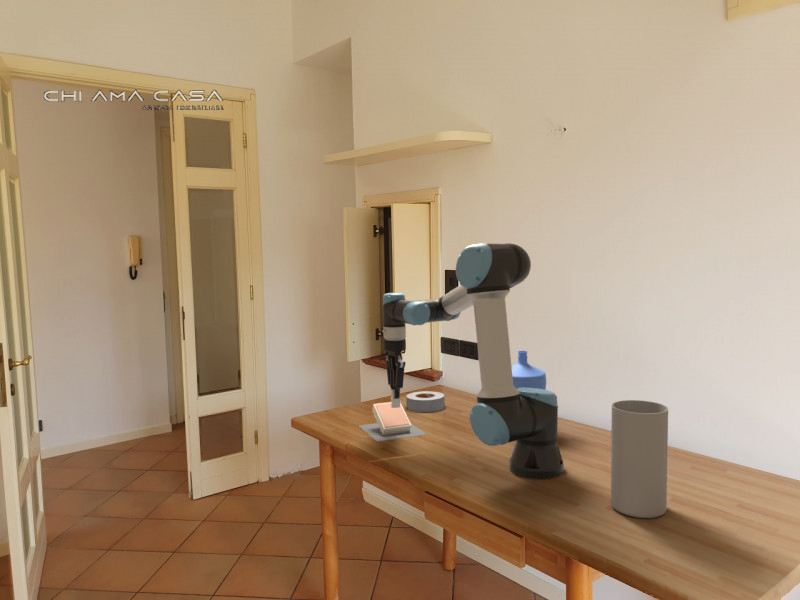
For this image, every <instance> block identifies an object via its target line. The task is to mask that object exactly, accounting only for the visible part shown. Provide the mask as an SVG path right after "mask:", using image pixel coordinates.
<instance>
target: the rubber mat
mask: <svg viewBox="0 0 800 600" xmlns="http://www.w3.org/2000/svg"><path fill="white" fill-rule="evenodd" d="M358 427H359V428H360V429H362V430H363V431H364V432H365V433H366V434H368V435H369V436H370V437H371V438H372V439H373V440H375V441H376V442H384V441H389V440H398V439H406V438H412V437H417V436H418V437H419V436H425V435H426V436H427V433H426V432H424V431H423V430H421V429H420V428H418V427H417V426H415V425H414V424H412V423H411V429H410V431H409V432H402V433H395V434H388V435H382V432H381V430H380V428H379V425H378V423H377V422H375V423H369V424H366V423H365V424H360V425H359V424H358Z"/></svg>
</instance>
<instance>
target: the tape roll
mask: <svg viewBox="0 0 800 600" xmlns="http://www.w3.org/2000/svg"><path fill="white" fill-rule="evenodd" d="M405 397H406V400H405V401H406V405H405V406H406V409H407V410H408V411H411V412H414V413H433V412H434V413H436V412H440V411H442V410H444V409H445V408H446V406H445V405H446V404H445V403H446V402H445V394H444V393H442V392H440V391H430V390H429V391H425V390H424V391H414V392H411V393H408V394H406V396H405Z"/></svg>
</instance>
